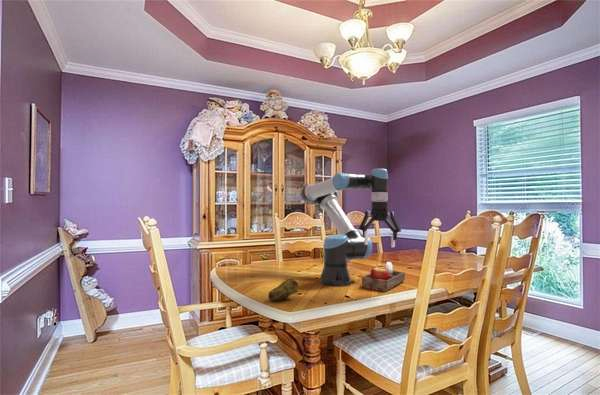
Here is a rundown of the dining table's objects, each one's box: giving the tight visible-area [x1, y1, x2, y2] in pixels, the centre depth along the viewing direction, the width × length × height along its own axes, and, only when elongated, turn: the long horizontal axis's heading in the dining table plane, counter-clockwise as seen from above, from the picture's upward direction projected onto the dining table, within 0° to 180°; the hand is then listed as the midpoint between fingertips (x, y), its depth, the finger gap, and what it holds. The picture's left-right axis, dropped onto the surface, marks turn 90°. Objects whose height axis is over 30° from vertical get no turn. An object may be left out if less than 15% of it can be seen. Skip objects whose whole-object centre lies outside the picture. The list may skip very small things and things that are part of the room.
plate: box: [384, 261, 394, 276], centre depth 163 cm, size 1×9×9 cm, turn 143°
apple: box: [370, 264, 389, 280], centre depth 154 cm, size 8×8×10 cm
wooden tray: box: [361, 270, 406, 292], centre depth 159 cm, size 12×23×5 cm, turn 143°
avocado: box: [268, 278, 299, 302], centre depth 133 cm, size 8×13×8 cm, turn 103°
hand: (379, 245), depth 155 cm, fingers open, 13 cm apart
